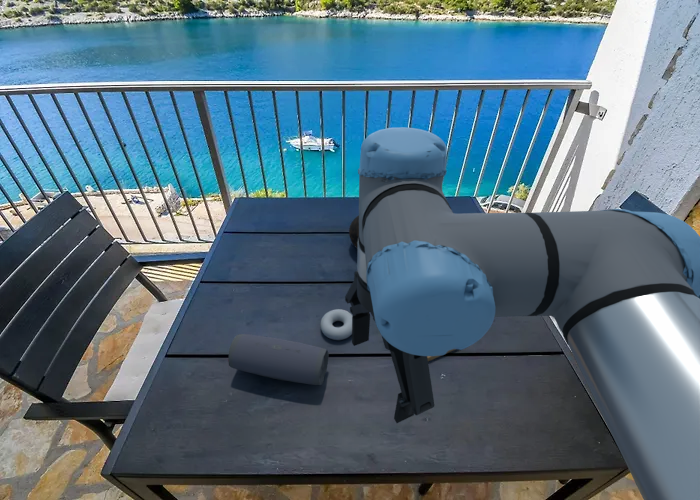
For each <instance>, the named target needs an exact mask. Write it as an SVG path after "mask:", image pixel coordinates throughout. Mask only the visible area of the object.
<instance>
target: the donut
mask: <svg viewBox="0 0 700 500" xmlns="http://www.w3.org/2000/svg"><path fill="white" fill-rule="evenodd" d="M352 316H353V314H352V313H351V312H350V311H347V310H345V309H341V308H340V309H339V308H336V309H332V310H329V311H327V312H326V313H325V314H323V316H322V318H321V319H320V329H321V332H322V333H323V335H324V336H325V337H326V338H329V339H330V340H333V341H342V340H345V339H348V338H349V337H350V336H352ZM335 322H341V323H343V325H342V326H339V327H336V326H334V325H333V324H334V323H335Z"/></svg>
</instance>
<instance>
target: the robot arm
mask: <svg viewBox="0 0 700 500" xmlns="http://www.w3.org/2000/svg"><path fill="white" fill-rule="evenodd" d="M446 145H447V144H446V143H445V142H444V140H443V139H442V138H441V137H439V136H438V135H437V134H435V133H433V132H430V131H427V130H424V129H420V128H414V127H387V128H382V129H378V130H376V131H374V132H372V133H369V135H367V136H366V138H365V139H363V141H362V144H361V146H360V158H359V168H358V169H357V175H358V176H359V177H358V180H359V182H358V215H359V236H358V247H357V248H356V250H357V251H356V252H357V255H356V256H357V257H356V270H355V271H354V273H353V274H354V275H353V276H354V277H353V281H352V283H351V285H350V287H349V289H348V291H347V293H345V296H344V301H345V303H346V304H347V305H348V304H349V305H350V307H349V313H351V314H352V334H351V343H352V346H353V347H355V346H359V345H360V344H361V345H362V344H363V343H366V342H369V341H370V326H371V325H370V324H371V316H372V319H373V321H374V323H375V326H376V327H377V330H378V332H379V333H380V335H381V338H382V342H383V346H384V349H386V350H387V351H389V352H390V356H391V359H392V364H393V366H394V371H395V374H396V378H397V381H398V384H399V388H400V392H399V393H397V397H396V398H397V399H396V405H395V410H394V415H393V416H394V417H393V420H394V422H395V423H396V424H399V423H401V422H403V421H405V420H407V419H409V418H411V417H413V416H418V415H420V414H423V413H425V412H426V411H429V410H431V409H433V408H435V399H434V393H433V392H434V391H433V386H432V379H431V373H430V365H429V361H428V358H427V356H439V357H441V356H440V355H442V356H444V355H446V352H447V351H449V350H452V349H456V350H461V351H463V350H465V349H467V348H469V347H470V346H473V345H474V344H475V343H477V342H479V341H480V340H481V339H482V338H483V337H484V336H485V335H486V334H487V333H488V331H489V330H490V329H491V327H492V326H493V323H494V322H495V321H494V320H495V318H507V317H509V318H510V317H511V318H513V317H552V318H553V319H554V321H555V322H556V324H557V327H558V329H559V330H560V332H561V333H562V336H563V338H564V339H563V340H564V341H565V343H566V345H567V346H568V347H569V349H570V350H569V351H570V353H572V356H573V358H574V360H575V362H576V365H577V366H578V368H579V370H580V372H581V374H582V376H583V379H584V381H585V383H586V385H587V386H588V388H589V390H590V393H591V396H592V397H593V399H594V401H595V403H596V405H597V407H598V409H599V411H600V413H601V415H602V417H603V420H604V421H605V423H606V426H607V427H608V430H609V432H610V434H611V436H612V438H613V440H614V442H615V444H616V446H617V449H618V450H619V452H620V454H621V457H622V458H623V460H624V462H625V465H626V466H627V468H628V471H629V473H630V476H631V477H632V479H633V481H634V483H635V485H636V486H637V489H638V491H639V493H640V495H641V497H642V500H700V235H699V234H698V232H697V231H696V229H694V228H693V227H692V226H691V225H689V224H688V223H686V221H684V220H682V219H680V218H678V217H676V216H673V215H671V214H667V213H663V212H656V211H655V212H653V211H631V210H630V209H624V208H609V209H601V210H579V211H578V210H577V211H576V210H575V211H574V210H573V211H572V210H571V211H541V212H538V211H537V212H469V213H455V212H453V210H452V207H451V206H450V203H449V202H448V200H447V198H446V195H445V194H444V192H443V181H444V176H446V175H447V171H448V170H447V169H446V167H447V154H448V150H447V146H446Z"/></svg>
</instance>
